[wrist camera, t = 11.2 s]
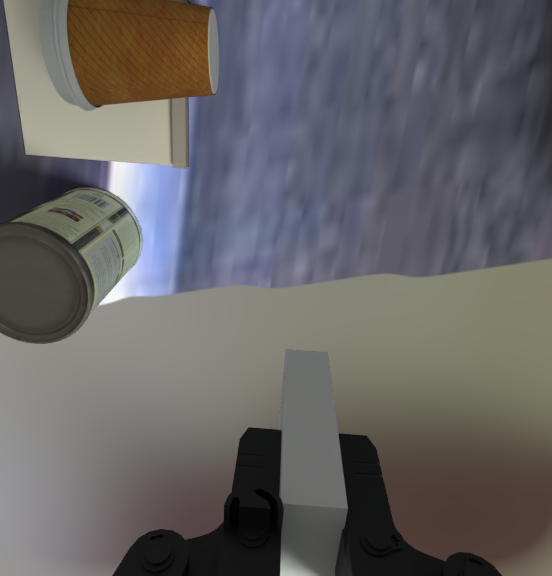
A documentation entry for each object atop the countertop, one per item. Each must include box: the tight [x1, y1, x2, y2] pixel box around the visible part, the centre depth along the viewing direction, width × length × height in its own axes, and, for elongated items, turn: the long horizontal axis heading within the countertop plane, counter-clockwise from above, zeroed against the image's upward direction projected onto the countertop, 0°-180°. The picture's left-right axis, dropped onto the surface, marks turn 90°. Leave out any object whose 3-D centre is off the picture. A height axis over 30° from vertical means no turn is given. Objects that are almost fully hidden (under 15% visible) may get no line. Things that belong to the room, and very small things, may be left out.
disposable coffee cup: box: [39, 0, 219, 111], centre depth 37 cm, size 10×10×12 cm
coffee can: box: [0, 187, 143, 344], centre depth 42 cm, size 10×10×14 cm
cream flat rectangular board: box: [4, 0, 189, 168], centre depth 41 cm, size 16×20×2 cm
